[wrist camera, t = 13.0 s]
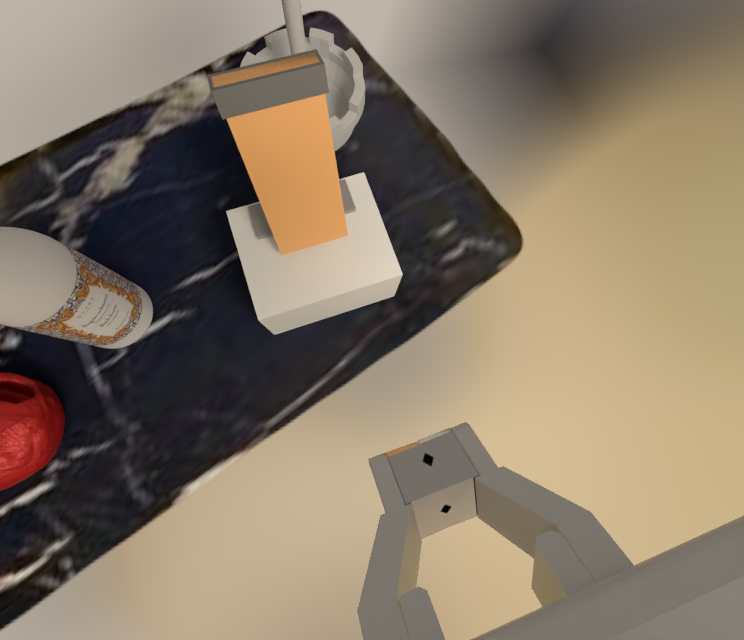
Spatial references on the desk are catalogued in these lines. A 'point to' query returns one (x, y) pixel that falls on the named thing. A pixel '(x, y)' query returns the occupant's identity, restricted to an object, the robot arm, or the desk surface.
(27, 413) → the pomegranate
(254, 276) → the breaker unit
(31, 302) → the bath foam
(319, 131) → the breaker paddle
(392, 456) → the robot arm
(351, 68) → the flag stand
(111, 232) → the desk surface
